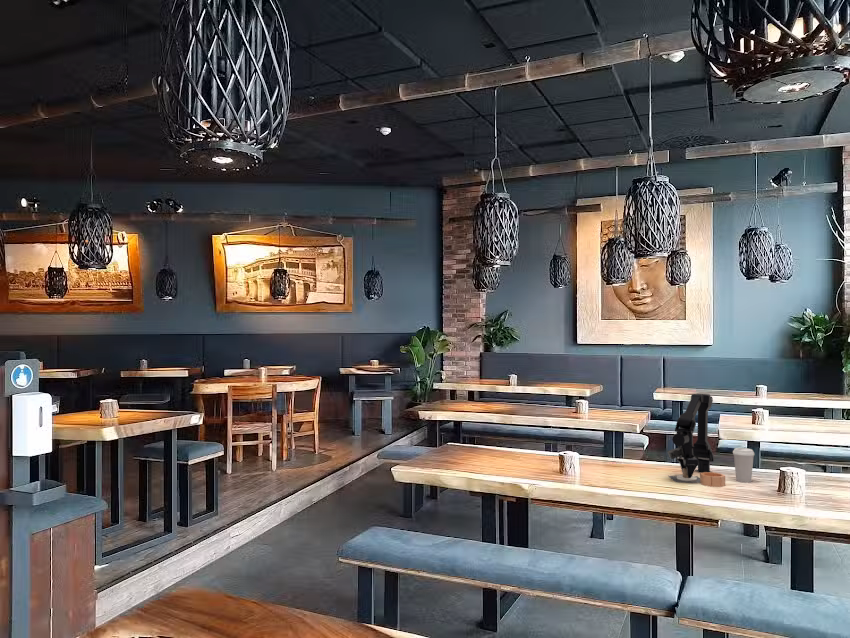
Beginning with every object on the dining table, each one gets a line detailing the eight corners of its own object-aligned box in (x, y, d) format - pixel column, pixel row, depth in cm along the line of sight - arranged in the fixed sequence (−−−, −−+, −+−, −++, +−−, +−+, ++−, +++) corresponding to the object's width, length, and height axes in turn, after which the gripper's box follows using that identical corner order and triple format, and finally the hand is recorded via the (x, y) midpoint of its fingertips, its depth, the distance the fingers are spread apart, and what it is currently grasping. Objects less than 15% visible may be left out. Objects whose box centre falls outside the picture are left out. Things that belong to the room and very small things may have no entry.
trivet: (667, 476, 317) (667, 475, 317) (697, 477, 316) (697, 476, 316) (675, 483, 303) (675, 482, 303) (706, 484, 302) (706, 483, 302)
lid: (674, 477, 314) (674, 466, 314) (693, 477, 314) (693, 466, 314) (679, 481, 305) (679, 470, 306) (699, 481, 305) (699, 470, 305)
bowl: (698, 482, 305) (697, 472, 305) (720, 483, 304) (719, 472, 304) (705, 487, 295) (705, 476, 295) (727, 488, 294) (727, 477, 294)
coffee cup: (743, 477, 315) (742, 447, 315) (759, 482, 306) (759, 450, 306) (728, 479, 312) (727, 448, 312) (744, 483, 303) (744, 451, 303)
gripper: (663, 439, 320) (664, 471, 320) (674, 446, 301) (674, 480, 301) (687, 440, 319) (687, 471, 319) (699, 446, 300) (699, 480, 300)
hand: (686, 476), depth 310 cm, fingers open, 8 cm apart
